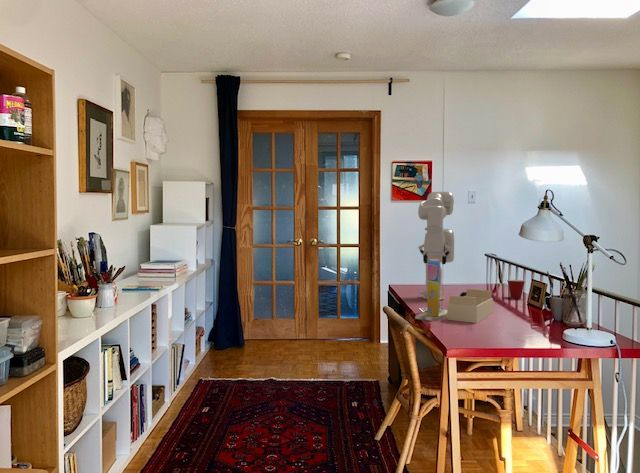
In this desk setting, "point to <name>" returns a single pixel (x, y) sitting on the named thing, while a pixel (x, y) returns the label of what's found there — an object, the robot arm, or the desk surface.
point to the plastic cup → (516, 288)
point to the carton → (470, 306)
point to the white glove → (432, 318)
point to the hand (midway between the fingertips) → (434, 263)
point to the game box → (433, 287)
